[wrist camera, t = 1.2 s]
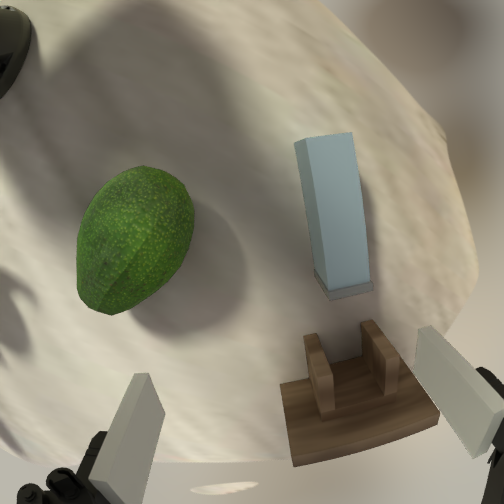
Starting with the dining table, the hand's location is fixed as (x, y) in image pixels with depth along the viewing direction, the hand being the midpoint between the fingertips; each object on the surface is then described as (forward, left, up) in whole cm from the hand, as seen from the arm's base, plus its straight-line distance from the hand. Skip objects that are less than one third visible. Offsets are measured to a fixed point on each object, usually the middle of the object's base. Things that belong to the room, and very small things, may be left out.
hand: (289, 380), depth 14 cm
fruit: (-5, -12, -20) cm, 24 cm away
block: (-4, +7, -20) cm, 21 cm away
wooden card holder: (+14, +7, -20) cm, 26 cm away
